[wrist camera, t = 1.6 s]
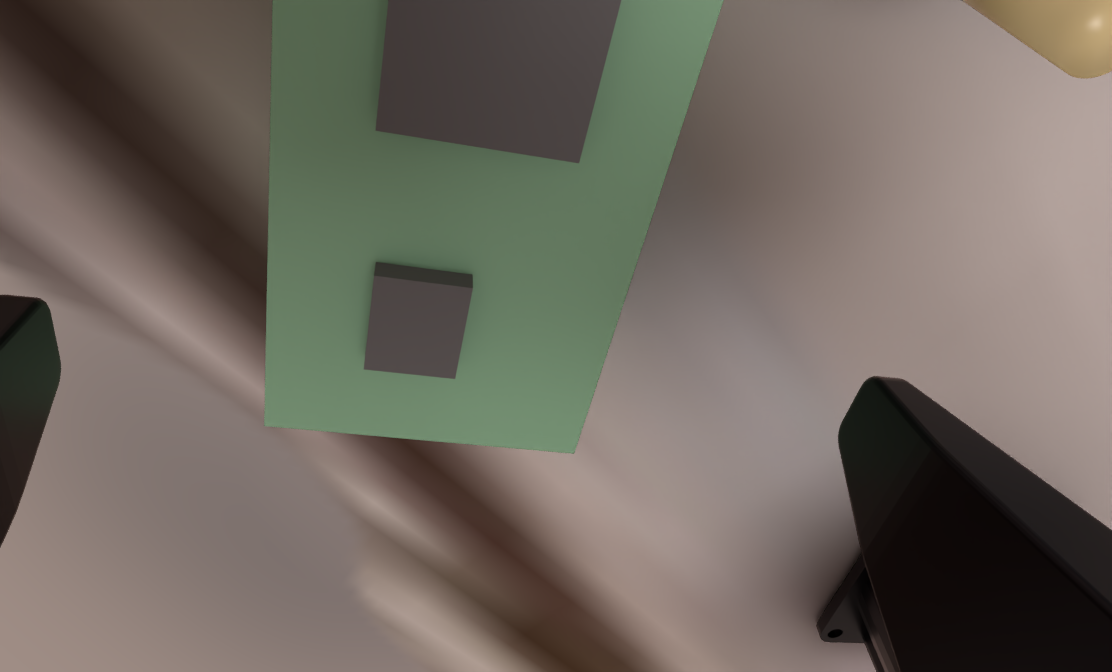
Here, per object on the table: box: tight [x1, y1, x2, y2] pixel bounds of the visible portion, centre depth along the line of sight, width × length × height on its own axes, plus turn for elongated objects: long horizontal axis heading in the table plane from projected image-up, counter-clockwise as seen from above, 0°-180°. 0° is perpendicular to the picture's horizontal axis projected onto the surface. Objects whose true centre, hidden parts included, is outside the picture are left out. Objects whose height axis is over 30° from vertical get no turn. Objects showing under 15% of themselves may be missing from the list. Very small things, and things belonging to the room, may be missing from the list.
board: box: [264, 0, 724, 454], centre depth 15 cm, size 12×6×4 cm, turn 167°
